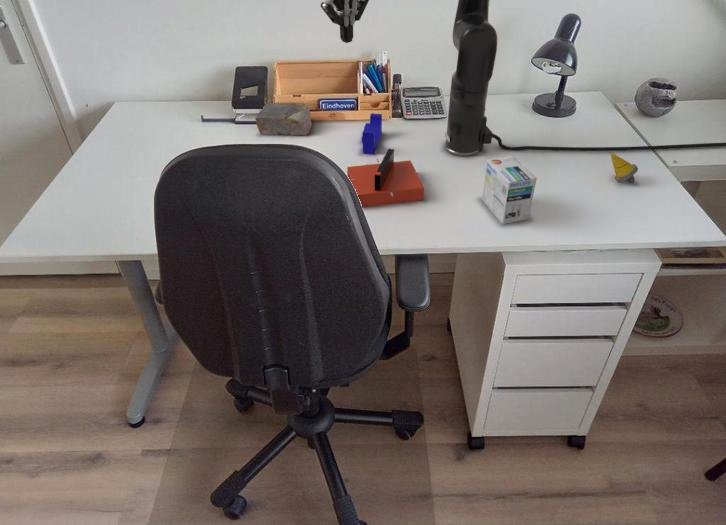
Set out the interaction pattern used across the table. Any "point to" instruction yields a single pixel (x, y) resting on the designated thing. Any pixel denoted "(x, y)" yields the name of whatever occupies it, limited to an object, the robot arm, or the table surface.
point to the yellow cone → (623, 169)
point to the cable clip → (372, 133)
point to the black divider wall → (384, 169)
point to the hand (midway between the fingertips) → (347, 41)
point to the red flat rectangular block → (387, 184)
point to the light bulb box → (508, 189)
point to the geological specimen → (284, 119)
